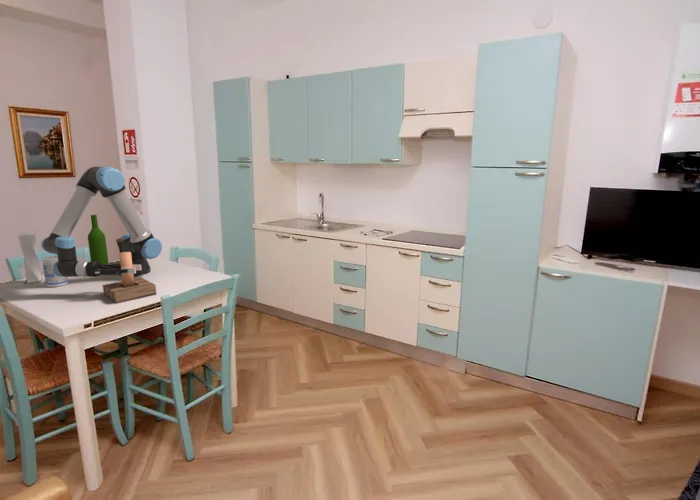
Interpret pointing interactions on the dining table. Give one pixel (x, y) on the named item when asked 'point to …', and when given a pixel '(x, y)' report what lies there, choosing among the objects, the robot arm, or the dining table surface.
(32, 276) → the skyscraper
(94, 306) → the dining table surface
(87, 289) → the dining table surface
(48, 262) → the supplement tub
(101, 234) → the wine bottle
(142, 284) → the socket block
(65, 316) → the dining table surface
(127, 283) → the peg
